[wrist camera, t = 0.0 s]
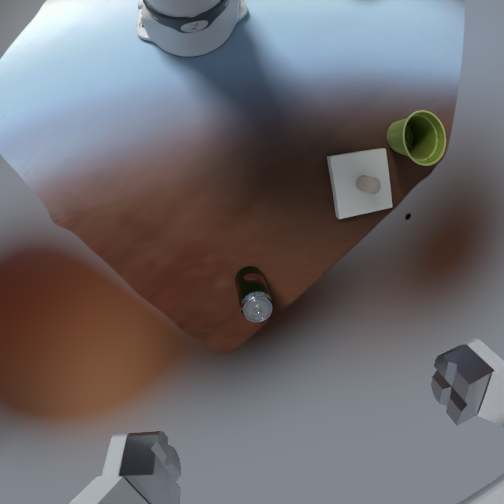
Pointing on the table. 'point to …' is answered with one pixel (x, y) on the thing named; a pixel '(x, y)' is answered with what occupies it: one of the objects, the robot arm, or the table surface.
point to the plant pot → (418, 137)
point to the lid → (360, 182)
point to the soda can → (253, 294)
